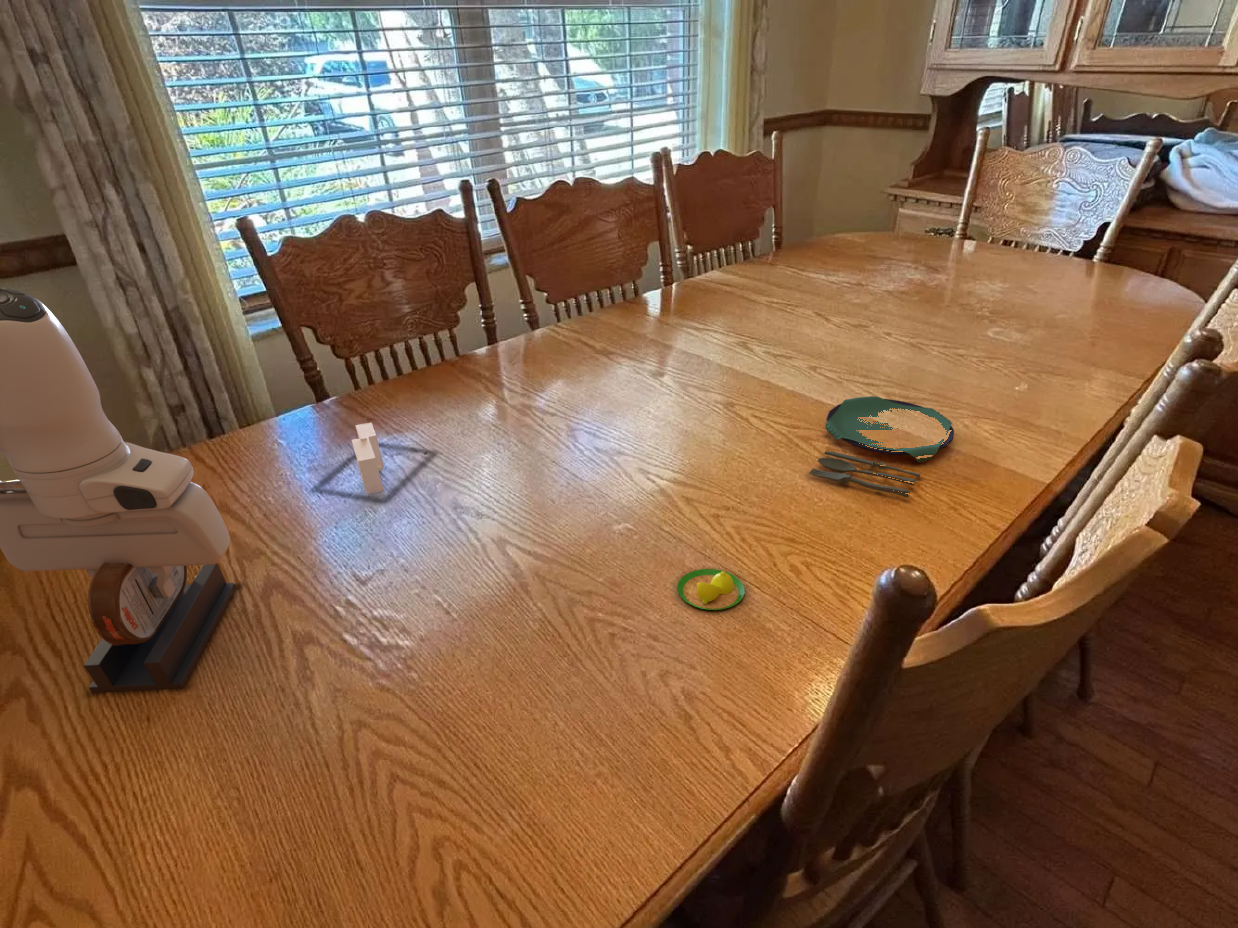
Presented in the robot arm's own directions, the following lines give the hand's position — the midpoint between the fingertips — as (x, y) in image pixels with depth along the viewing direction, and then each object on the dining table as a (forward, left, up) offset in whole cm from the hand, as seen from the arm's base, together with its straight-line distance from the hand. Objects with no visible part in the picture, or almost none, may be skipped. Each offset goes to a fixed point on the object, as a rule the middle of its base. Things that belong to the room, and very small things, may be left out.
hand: (147, 595), depth 78 cm
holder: (0, 0, -6) cm, 6 cm away
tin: (0, 0, -3) cm, 3 cm away
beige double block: (+16, +36, -6) cm, 40 cm away
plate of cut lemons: (+61, +4, -6) cm, 61 cm away
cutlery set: (+93, +39, -6) cm, 101 cm away
